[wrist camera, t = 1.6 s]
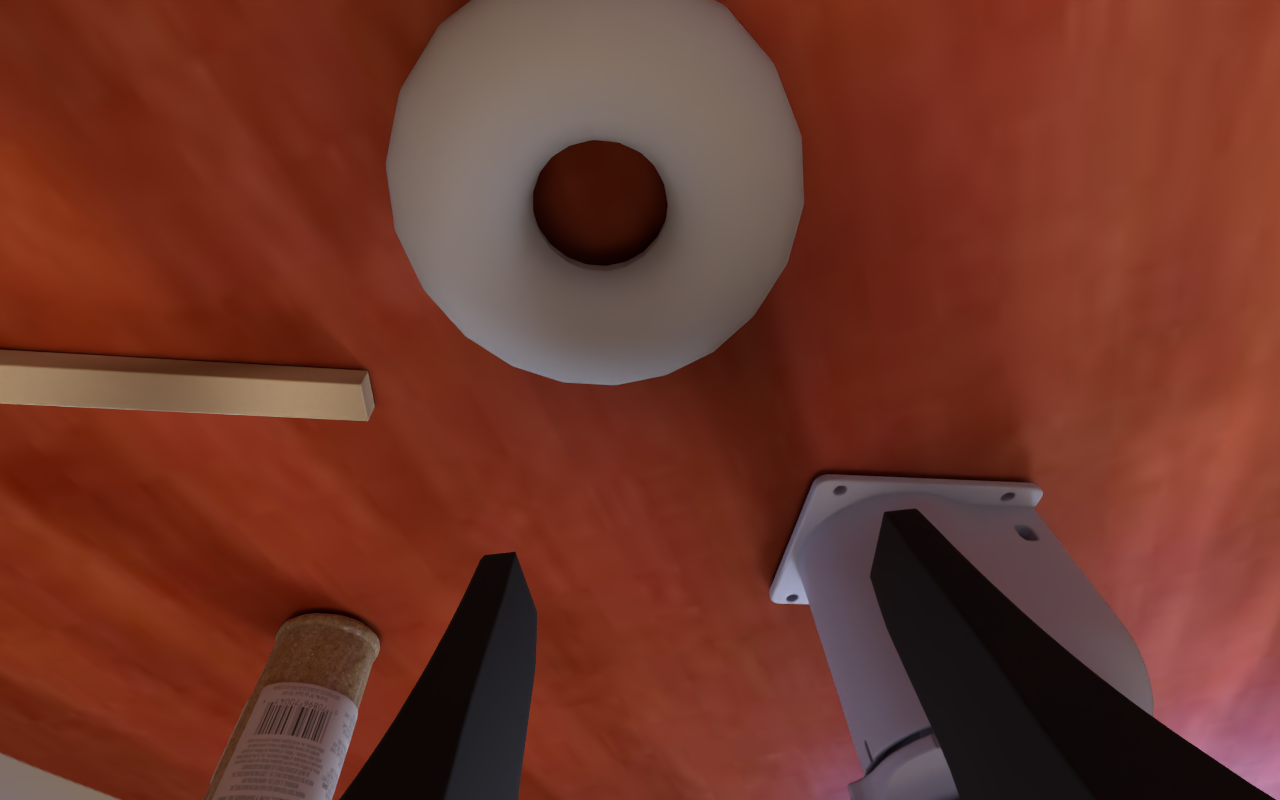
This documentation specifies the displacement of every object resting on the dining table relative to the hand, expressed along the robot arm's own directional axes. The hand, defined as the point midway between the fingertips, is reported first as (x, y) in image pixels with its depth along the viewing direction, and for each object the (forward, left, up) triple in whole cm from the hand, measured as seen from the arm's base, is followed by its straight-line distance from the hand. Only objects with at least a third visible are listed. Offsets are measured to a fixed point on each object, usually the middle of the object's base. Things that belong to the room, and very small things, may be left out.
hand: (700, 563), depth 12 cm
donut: (+2, -4, -9) cm, 10 cm away
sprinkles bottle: (+13, +18, -9) cm, 24 cm away
